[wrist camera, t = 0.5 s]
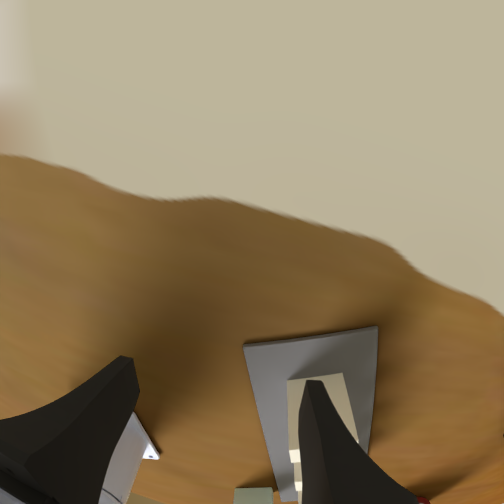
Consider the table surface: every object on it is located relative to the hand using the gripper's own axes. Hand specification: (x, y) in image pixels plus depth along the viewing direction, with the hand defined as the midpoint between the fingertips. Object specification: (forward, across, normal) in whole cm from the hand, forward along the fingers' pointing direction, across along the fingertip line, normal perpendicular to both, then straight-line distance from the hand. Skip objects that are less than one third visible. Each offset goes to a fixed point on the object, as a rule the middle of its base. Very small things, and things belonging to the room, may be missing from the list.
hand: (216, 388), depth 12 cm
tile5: (+10, -6, +8) cm, 14 cm away
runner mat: (+10, -8, +17) cm, 21 cm away
